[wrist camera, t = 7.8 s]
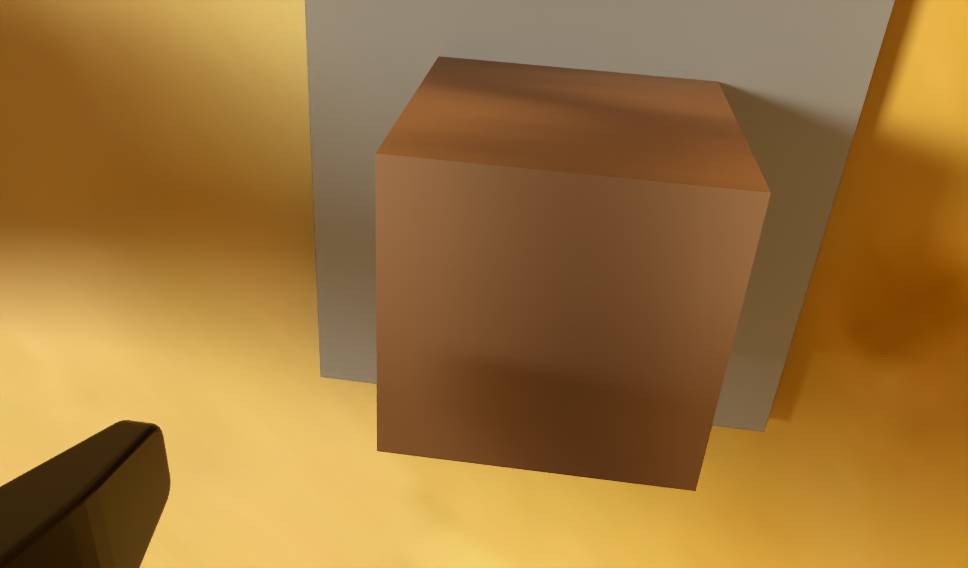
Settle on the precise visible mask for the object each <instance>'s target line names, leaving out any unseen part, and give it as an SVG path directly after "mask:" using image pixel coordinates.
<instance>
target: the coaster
mask: <svg viewBox="0 0 968 568" xmlns="http://www.w3.org/2000/svg"><path fill="white" fill-rule="evenodd" d="M894 2H895V0H305V14H306V38H307V62H308V86H309V110H310V134H311V157H312V181H313V205H314V229H315V253H316V277H317V301H318V325H319V349H320V372H321V377H326V378H334V379H342V380H350V381H358V382H366V383H374V384H377V339H376V183H375V153H376V152H377V150H378V149H379V147H380V146H381V144H382V142H383V141H384V139H385V138H386V136H387V135H388V133H389V132H390V130H391V129H392V127H393V126H394V124H395V123H396V121H397V119H398V118H399V116H400V115H401V113H402V112H403V110H404V109H405V107H406V106H407V104H408V103H409V101H410V100H411V98H412V96H413V95H414V93H415V92H416V90H417V89H418V87H419V86H420V84H421V83H422V81H423V80H424V78H425V76H426V75H427V73H428V72H429V70H430V69H431V67H432V66H433V64H434V63H435V61H436V60H437V58H438V57H439V56H441V57H453V58H464V59H475V60H486V61H497V62H508V63H519V64H530V65H541V66H552V67H563V68H574V69H585V70H596V71H607V72H618V73H629V74H640V75H651V76H662V77H673V78H684V79H695V80H707V81H718V82H719V84H720V86H721V89H722V91H723V93H724V95H725V97H726V99H727V101H728V103H729V105H730V108H731V110H732V112H733V114H734V116H735V118H736V120H737V122H738V124H739V127H740V129H741V131H742V133H743V135H744V137H745V139H746V141H747V143H748V145H749V148H750V150H751V152H752V154H753V156H754V158H755V160H756V162H757V164H758V167H759V169H760V171H761V173H762V175H763V177H764V179H765V181H766V183H767V186H768V188H769V190H770V192H771V195H770V199H769V203H768V207H767V211H766V214H765V218H764V222H763V226H762V230H761V234H760V238H759V242H758V246H757V250H756V254H755V258H754V262H753V266H752V270H751V274H750V278H749V282H748V285H747V289H746V293H745V297H744V301H743V305H742V309H741V313H740V317H739V321H738V325H737V329H736V333H735V337H734V341H733V345H732V349H731V352H730V356H729V360H728V364H727V368H726V372H725V376H724V380H723V384H722V388H721V392H720V396H719V400H718V404H717V408H716V412H715V416H714V420H713V423H712V425H713V426H721V427H729V428H737V429H745V430H753V431H761V432H764V431H765V428H766V424H767V421H768V418H769V414H770V411H771V408H772V404H773V401H774V398H775V395H776V391H777V388H778V385H779V381H780V378H781V375H782V371H783V368H784V365H785V362H786V358H787V355H788V352H789V348H790V345H791V342H792V338H793V335H794V332H795V329H796V325H797V322H798V319H799V315H800V312H801V309H802V305H803V302H804V299H805V296H806V292H807V289H808V286H809V282H810V279H811V276H812V272H813V269H814V266H815V263H816V259H817V256H818V253H819V249H820V246H821V243H822V239H823V236H824V233H825V230H826V226H827V223H828V220H829V216H830V213H831V210H832V206H833V203H834V200H835V197H836V193H837V190H838V187H839V183H840V180H841V177H842V173H843V170H844V167H845V164H846V160H847V157H848V154H849V150H850V147H851V144H852V140H853V137H854V134H855V131H856V127H857V124H858V121H859V117H860V114H861V111H862V107H863V104H864V101H865V98H866V94H867V91H868V88H869V84H870V81H871V78H872V74H873V71H874V68H875V65H876V61H877V58H878V55H879V51H880V48H881V45H882V41H883V38H884V35H885V31H886V28H887V25H888V22H889V18H890V15H891V12H892V8H893V5H894Z"/></svg>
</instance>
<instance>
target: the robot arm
mask: <svg viewBox="0 0 968 568" xmlns="http://www.w3.org/2000/svg"><path fill="white" fill-rule="evenodd" d="M169 491H170V473H169V467H168V461H167V455H166V449H165V443H164V437H163V433H162V431H161V429H160V427H158V426H157V425H155V424H152V423H145V422H137V421H130V420H123V421H119V422H117V423H115V424H113V425H111V426H109V427H108V428H106V429H104V430H102V431H100V432H99V433H97V434H95V435H93V436H91V437H89V438H88V439H86V440H84V441H82V442H80V443H79V444H77V445H75V446H73V447H71V448H70V449H68V450H66V451H64V452H62V453H61V454H59V455H57V456H55V457H53V458H51V459H50V460H48V461H46V462H44V463H42V464H41V465H39V466H37V467H35V468H33V469H32V470H30V471H28V472H26V473H24V474H23V475H21V476H19V477H17V478H15V479H13V480H12V481H10V482H8V483H6V484H4V485H3V486H1V487H0V568H139V567H140V565H141V563H142V560H143V558H144V555H145V553H146V551H147V548H148V546H149V543H150V541H151V538H152V536H153V534H154V531H155V529H156V526H157V524H158V521H159V519H160V517H161V514H162V512H163V509H164V507H165V505H166V502H167V499H168V496H169Z"/></svg>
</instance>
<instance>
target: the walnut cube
mask: <svg viewBox="0 0 968 568" xmlns="http://www.w3.org/2000/svg"><path fill="white" fill-rule="evenodd" d="M375 183H376V339H377V451H381V452H389V453H397V454H405V455H413V456H421V457H429V458H436V459H444V460H452V461H460V462H468V463H476V464H484V465H492V466H500V467H508V468H516V469H524V470H532V471H540V472H548V473H556V474H564V475H572V476H580V477H588V478H596V479H604V480H612V481H620V482H628V483H636V484H644V485H652V486H660V487H668V488H676V489H684V490H692V491H696V487H697V483H698V479H699V475H700V471H701V467H702V463H703V459H704V455H705V451H706V447H707V443H708V439H709V435H710V431H711V427H712V423H713V420H714V416H715V412H716V408H717V404H718V400H719V396H720V392H721V388H722V384H723V380H724V376H725V372H726V368H727V364H728V360H729V356H730V352H731V349H732V345H733V341H734V337H735V333H736V329H737V325H738V321H739V317H740V313H741V309H742V305H743V301H744V297H745V293H746V289H747V285H748V282H749V278H750V274H751V270H752V266H753V262H754V258H755V254H756V250H757V246H758V242H759V238H760V234H761V230H762V226H763V222H764V218H765V214H766V211H767V207H768V203H769V199H770V195H771V192H770V190H769V188H768V186H767V183H766V181H765V179H764V177H763V175H762V173H761V171H760V169H759V167H758V164H757V162H756V160H755V158H754V156H753V154H752V152H751V150H750V148H749V145H748V143H747V141H746V139H745V137H744V135H743V133H742V131H741V129H740V127H739V124H738V122H737V120H736V118H735V116H734V114H733V112H732V110H731V108H730V105H729V103H728V101H727V99H726V97H725V95H724V93H723V91H722V89H721V86H720V84H719V82H718V81H707V80H695V79H684V78H673V77H662V76H651V75H640V74H629V73H618V72H607V71H596V70H585V69H574V68H563V67H552V66H541V65H530V64H519V63H508V62H497V61H486V60H475V59H464V58H453V57H441V56H439V57H438V58H437V60H436V61H435V63H434V64H433V66H432V67H431V69H430V70H429V72H428V73H427V75H426V76H425V78H424V80H423V81H422V83H421V84H420V86H419V87H418V89H417V90H416V92H415V93H414V95H413V96H412V98H411V100H410V101H409V103H408V104H407V106H406V107H405V109H404V110H403V112H402V113H401V115H400V116H399V118H398V119H397V121H396V123H395V124H394V126H393V127H392V129H391V130H390V132H389V133H388V135H387V136H386V138H385V139H384V141H383V142H382V144H381V146H380V147H379V149H378V150H377V152H376V153H375Z"/></svg>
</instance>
